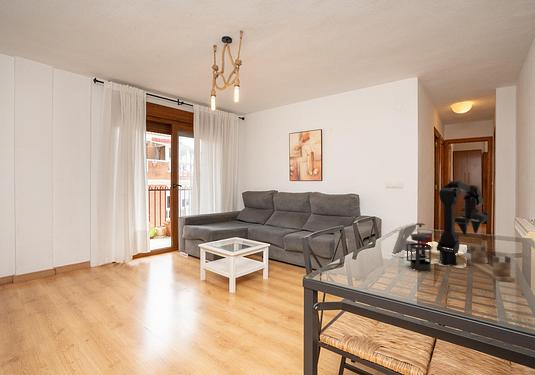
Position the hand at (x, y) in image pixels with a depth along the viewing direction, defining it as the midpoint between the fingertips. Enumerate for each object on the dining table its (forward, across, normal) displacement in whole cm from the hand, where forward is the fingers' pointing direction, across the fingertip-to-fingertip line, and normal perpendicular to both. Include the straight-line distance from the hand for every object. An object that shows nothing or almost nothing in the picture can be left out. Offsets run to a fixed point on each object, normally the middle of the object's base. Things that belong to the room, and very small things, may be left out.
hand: (470, 233), depth 160 cm
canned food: (+12, -11, +20) cm, 26 cm away
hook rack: (+12, -21, -22) cm, 33 cm away
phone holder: (+12, -32, +18) cm, 39 cm away
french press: (+12, -46, -5) cm, 47 cm away
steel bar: (+12, -8, -2) cm, 15 cm away
